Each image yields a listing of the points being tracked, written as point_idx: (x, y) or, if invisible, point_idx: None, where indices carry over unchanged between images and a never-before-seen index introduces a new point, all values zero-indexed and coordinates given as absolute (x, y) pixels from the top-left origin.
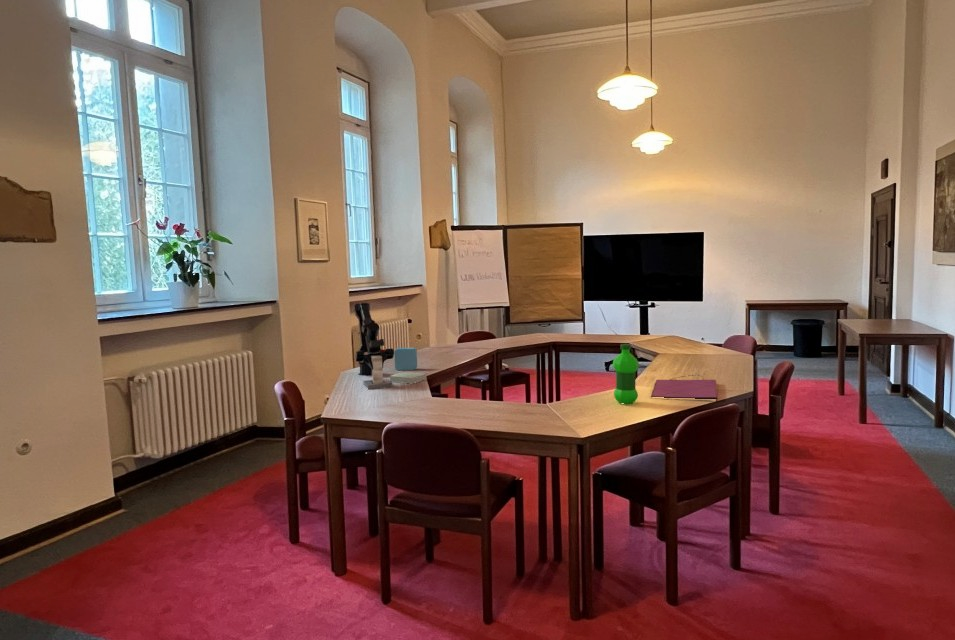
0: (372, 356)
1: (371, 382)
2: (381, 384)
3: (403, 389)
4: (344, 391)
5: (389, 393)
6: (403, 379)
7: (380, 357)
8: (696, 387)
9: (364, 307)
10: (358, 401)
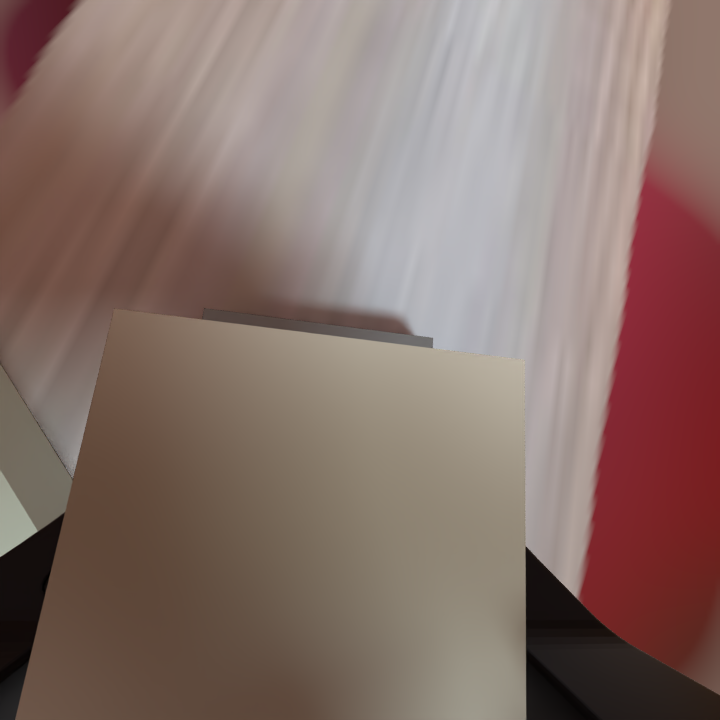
0: (486, 672)
1: None
2: (309, 323)
3: (171, 181)
4: (580, 371)
5: (318, 128)
6: (4, 430)
7: (199, 324)
8: None
9: None
10: (539, 63)
